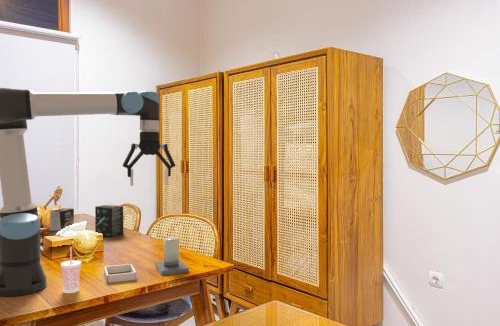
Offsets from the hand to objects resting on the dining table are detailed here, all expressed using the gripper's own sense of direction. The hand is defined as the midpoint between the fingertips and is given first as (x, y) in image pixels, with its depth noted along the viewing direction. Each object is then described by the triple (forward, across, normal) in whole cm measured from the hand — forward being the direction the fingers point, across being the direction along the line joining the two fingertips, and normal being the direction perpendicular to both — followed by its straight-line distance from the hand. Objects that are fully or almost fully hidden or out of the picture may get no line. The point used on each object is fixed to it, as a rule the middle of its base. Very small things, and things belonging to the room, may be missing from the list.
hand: (149, 185), depth 167 cm
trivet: (+31, -6, +13) cm, 34 cm away
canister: (+29, -6, +13) cm, 33 cm away
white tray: (+31, +13, +15) cm, 37 cm away
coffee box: (+31, +32, -42) cm, 61 cm away
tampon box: (+31, +10, -56) cm, 65 cm away
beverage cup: (+31, +29, +24) cm, 49 cm away
